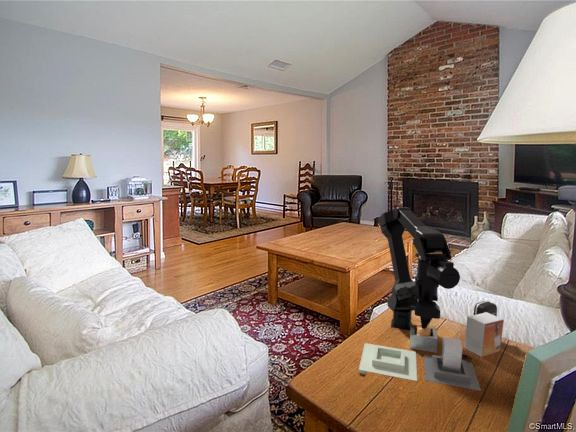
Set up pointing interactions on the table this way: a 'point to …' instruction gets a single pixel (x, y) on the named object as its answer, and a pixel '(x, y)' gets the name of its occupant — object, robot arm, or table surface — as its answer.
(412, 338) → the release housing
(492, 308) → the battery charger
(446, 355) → the steel peg
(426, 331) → the tan egg
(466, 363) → the charcoal socket
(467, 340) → the small box
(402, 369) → the pale green socket
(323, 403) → the table surface
